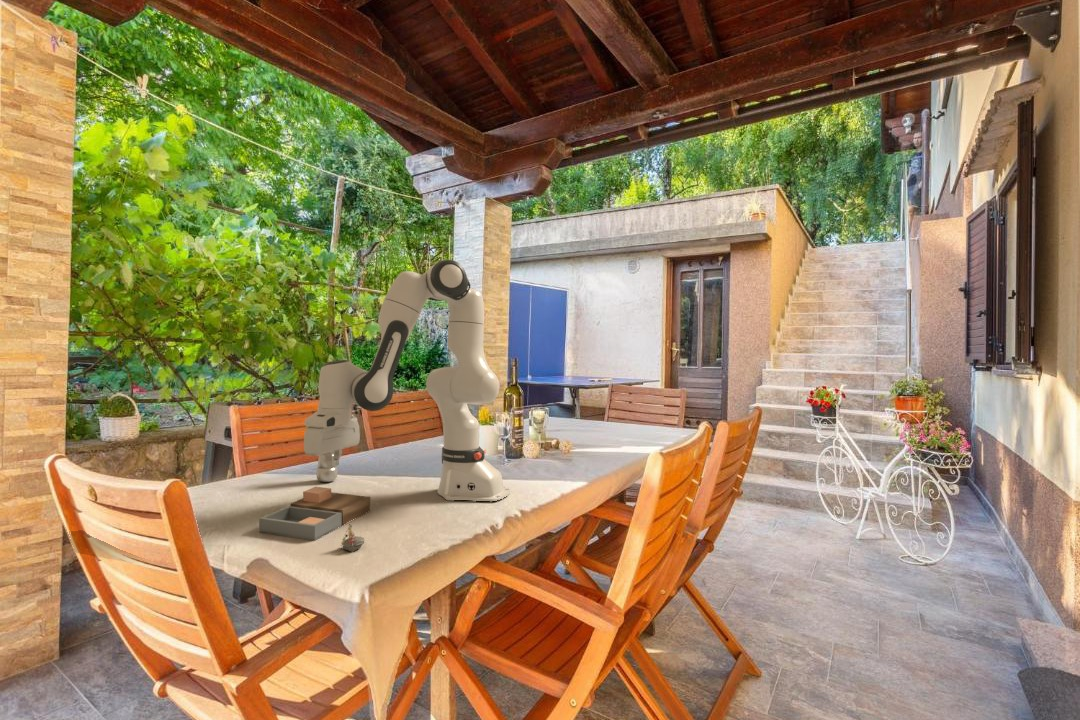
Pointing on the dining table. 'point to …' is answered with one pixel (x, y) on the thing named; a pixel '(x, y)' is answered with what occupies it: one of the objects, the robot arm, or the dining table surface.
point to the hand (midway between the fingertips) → (333, 466)
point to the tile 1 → (317, 494)
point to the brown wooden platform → (339, 505)
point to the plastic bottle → (325, 470)
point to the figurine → (352, 541)
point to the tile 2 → (311, 520)
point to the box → (289, 526)
